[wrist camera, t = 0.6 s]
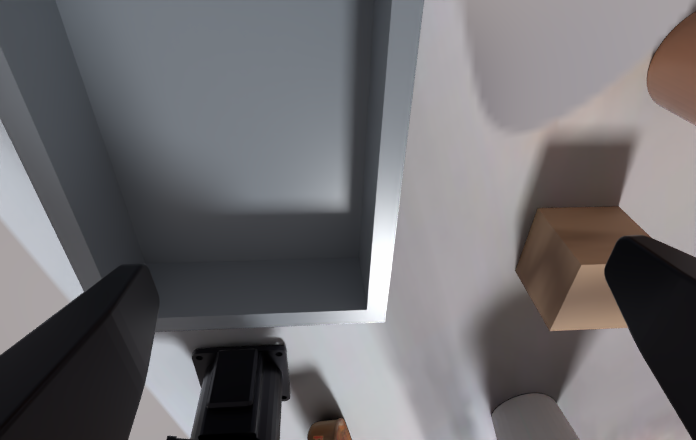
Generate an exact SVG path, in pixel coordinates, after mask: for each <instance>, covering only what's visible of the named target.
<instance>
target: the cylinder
mask: <svg viewBox="0 0 696 440" xmlns="http://www.w3.org/2000/svg"><path fill="white" fill-rule="evenodd" d="M647 87H648V92H649V94H650V96H651V98H652V100H653V101H654V102H655V103H656V104H658V105H659V106H661V107H663V108H665V109H666V110H668V111H670V112H672V113H674V114H675V115H677V116H679V117H681V118H683V119H684V120H686V121H688V122H690V123H692V124H693V125H695V126H696V12H694V13H692V14H691V15H689V16H688V17H687V18H685V19H684V20H683V21H681V22H680V23H679V24H678V25H677V26H676V27H675V28H674V29H673V30H672V31H671V32H670V33H669V34H668V35H667V36H666V38H665V39H664V40H663V42H662V43H661V44H660V46H659V47H658V49H657V51H656V52H655V54H654V56H653V58H652V61H651V64H650V66H649V70H648V76H647Z"/></svg>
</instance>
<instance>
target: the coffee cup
mask: <svg viewBox="0 0 696 440" xmlns="http://www.w3.org/2000/svg"><path fill="white" fill-rule="evenodd" d="M492 421H493V425H494V429H495V433H496V437H497V440H579V438H578V436H577V435H576V433H575V432H574V430H573V429H572V427H571V425H570V424H569V422H568V421H567V419H566V418H565V416H564V414H563V413H562V411H561V410H560V408H559V406H558V405H557V403H556V402H555V400H553V399H552V398H551V397H549V396H548V395H544V394H539V393H530V394H524V395H520V396H517V397H514V398H512V399H510V400H507V401H506V402H504V403H502V404H501V405H500V406H498V407H497V408H496V409H495V410H494V412H493V413H492Z"/></svg>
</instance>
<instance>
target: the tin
mask: <svg viewBox="0 0 696 440" xmlns="http://www.w3.org/2000/svg"><path fill="white" fill-rule="evenodd" d="M308 440H351V437H350V434H349V431H348V428H347V426H346V423H345V421H344V419H342V418H339V419H337V420H328V421H319V422H316V423H314V424H312V426H311V427H310V430H309V432H308Z"/></svg>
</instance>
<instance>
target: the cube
mask: <svg viewBox="0 0 696 440" xmlns="http://www.w3.org/2000/svg"><path fill="white" fill-rule="evenodd" d="M627 235H645V236H648V237H650V236H649V235H648V234H647V233H646V232H645V231H644V230H643V229H642V228H641V227H640V226H638V225H637V224H636V223H635V222H634V221H633V220H632V219H631V218H630V217H629V216H628V215H627V214H626V213H625V212H624V211H623V210H622V209H621V208H620V207H619V206H613V207H564V208H538V209H537V211H536V214H535V217H534V220H533V223H532V225H531V228H530V231H529V234H528V236H527V239H526V242H525V245H524V248H523V250H522V253H521V256H520V259H519V262H518V264H517V267H516V270H515V271H516V273H517V275H518V277H519V278H520V280H521V282H522V284H523V285H524V287H525V289H526V291H527V292H528V294H529V296H530V298H531V299H532V301H533V303H534V305H535V306H536V308H537V310H538V311H539V313H540V315H541V317H542V318H543V320H544V322H545V324H546V325H547V327H548V329H549V331H563V330H586V329H608V328H628V326H627V324H626V322H625V320H624V318H623V316H622V314H621V311H620V309H619V307H618V305H617V303H616V301H615V299H614V297H613V294H612V292H611V290H610V288H609V286H608V284H607V282H606V279H605V275H604V268H605V265H606V263H607V261H608V259H609V256H610V254H611V252H612V250H613V248H614V246H615V244H616V242H617V240H618V239H619V238H620V237H622V236H627ZM650 238H651V237H650Z"/></svg>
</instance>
